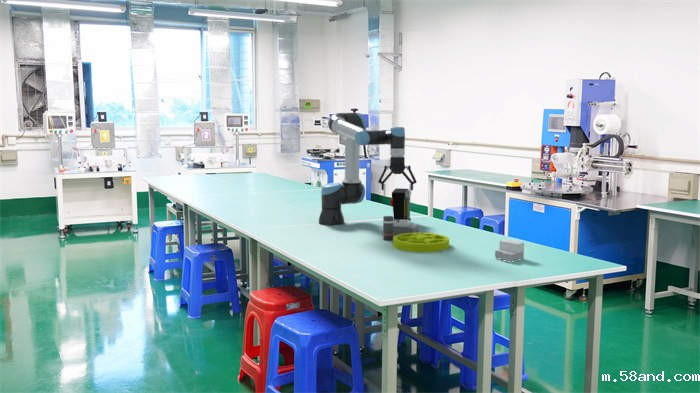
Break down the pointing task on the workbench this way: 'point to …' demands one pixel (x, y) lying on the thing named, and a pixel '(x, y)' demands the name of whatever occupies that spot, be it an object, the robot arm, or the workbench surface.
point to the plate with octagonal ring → (404, 227)
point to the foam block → (510, 250)
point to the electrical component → (401, 204)
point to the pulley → (421, 242)
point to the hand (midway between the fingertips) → (397, 196)
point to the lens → (388, 228)
